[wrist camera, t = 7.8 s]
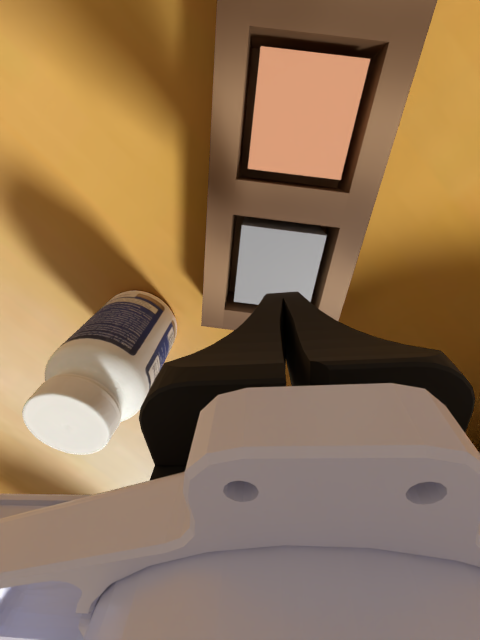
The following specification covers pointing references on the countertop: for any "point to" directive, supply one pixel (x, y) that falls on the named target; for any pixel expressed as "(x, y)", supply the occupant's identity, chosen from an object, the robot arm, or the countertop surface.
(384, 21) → the board
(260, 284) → the key slate
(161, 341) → the pill bottle
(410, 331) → the countertop surface
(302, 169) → the salmon orange square block
